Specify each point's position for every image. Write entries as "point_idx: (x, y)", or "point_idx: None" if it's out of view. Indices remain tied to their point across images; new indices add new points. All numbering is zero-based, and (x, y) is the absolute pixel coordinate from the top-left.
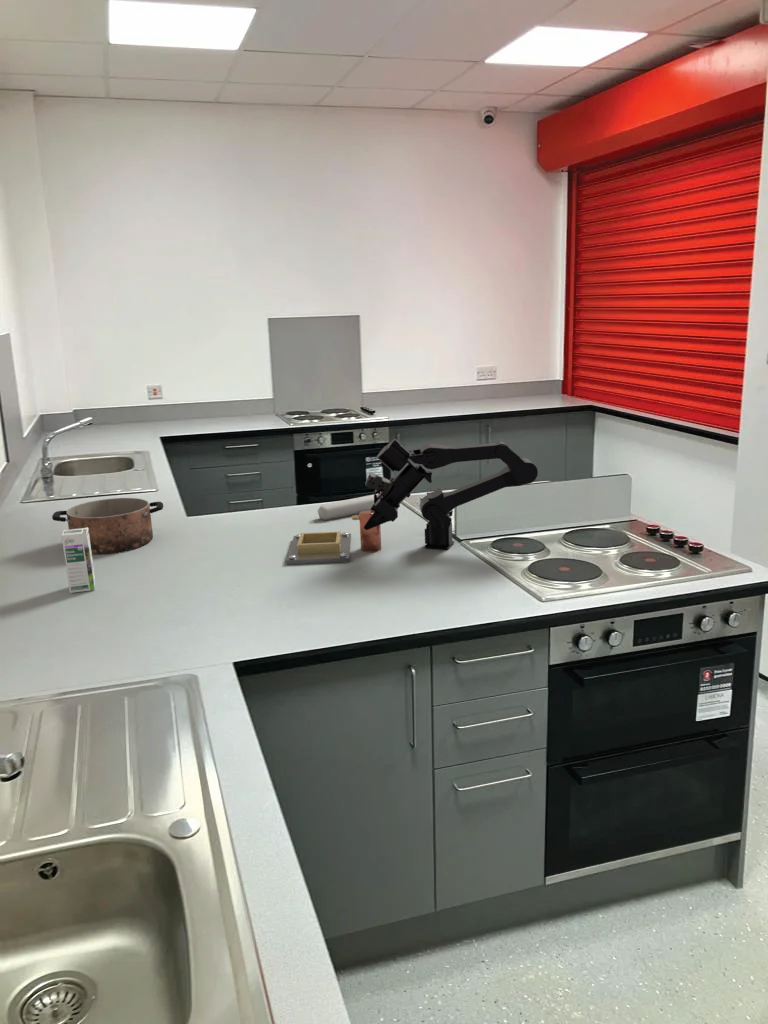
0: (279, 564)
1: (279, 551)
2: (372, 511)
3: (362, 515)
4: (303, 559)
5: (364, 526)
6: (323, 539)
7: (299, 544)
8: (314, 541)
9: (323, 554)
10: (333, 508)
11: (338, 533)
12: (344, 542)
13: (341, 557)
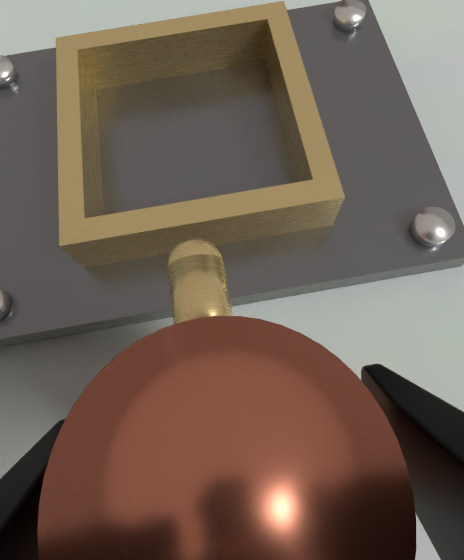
0: (2, 54)
1: (184, 11)
2: (312, 544)
3: (88, 392)
4: None
5: (49, 432)
6: (287, 133)
7: (63, 45)
8: (275, 100)
9: (42, 193)
10: None
11: (292, 192)
12: (271, 256)
13: None
